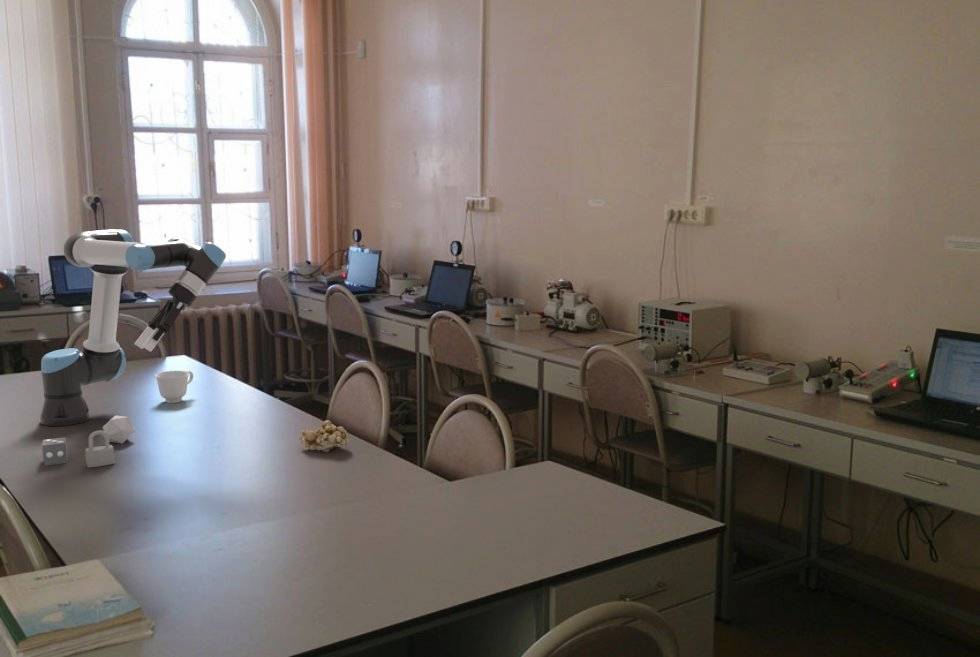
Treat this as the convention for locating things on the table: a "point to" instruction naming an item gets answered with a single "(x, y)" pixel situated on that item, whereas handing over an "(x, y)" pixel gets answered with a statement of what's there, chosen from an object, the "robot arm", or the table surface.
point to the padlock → (99, 452)
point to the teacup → (173, 384)
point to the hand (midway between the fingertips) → (142, 348)
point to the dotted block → (54, 451)
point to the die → (118, 429)
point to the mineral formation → (324, 437)
